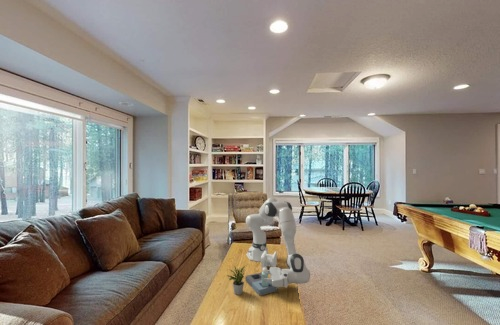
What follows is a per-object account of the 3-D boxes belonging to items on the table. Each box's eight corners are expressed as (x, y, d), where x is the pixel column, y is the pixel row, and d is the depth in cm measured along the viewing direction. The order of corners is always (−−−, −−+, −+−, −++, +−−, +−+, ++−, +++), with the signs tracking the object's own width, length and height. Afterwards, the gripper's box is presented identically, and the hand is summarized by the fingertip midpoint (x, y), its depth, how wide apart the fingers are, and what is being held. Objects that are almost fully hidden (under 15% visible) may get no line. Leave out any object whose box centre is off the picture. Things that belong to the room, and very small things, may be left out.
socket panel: (245, 280, 169) (245, 275, 169) (261, 277, 175) (261, 272, 175) (259, 295, 150) (259, 289, 150) (277, 291, 156) (277, 285, 156)
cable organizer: (274, 272, 182) (274, 257, 182) (260, 271, 185) (260, 256, 185) (276, 264, 196) (277, 250, 196) (264, 263, 199) (264, 249, 199)
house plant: (235, 284, 164) (235, 260, 165) (253, 289, 158) (253, 264, 158) (223, 294, 152) (223, 268, 152) (242, 299, 145) (242, 272, 145)
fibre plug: (261, 288, 159) (261, 267, 159) (267, 288, 159) (267, 267, 159) (261, 291, 155) (262, 269, 155) (268, 291, 155) (268, 269, 155)
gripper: (282, 264, 168) (262, 264, 168) (287, 278, 147) (264, 278, 147) (282, 273, 168) (262, 273, 167) (287, 289, 147) (264, 288, 147)
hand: (263, 276), depth 157 cm, fingers open, 8 cm apart
